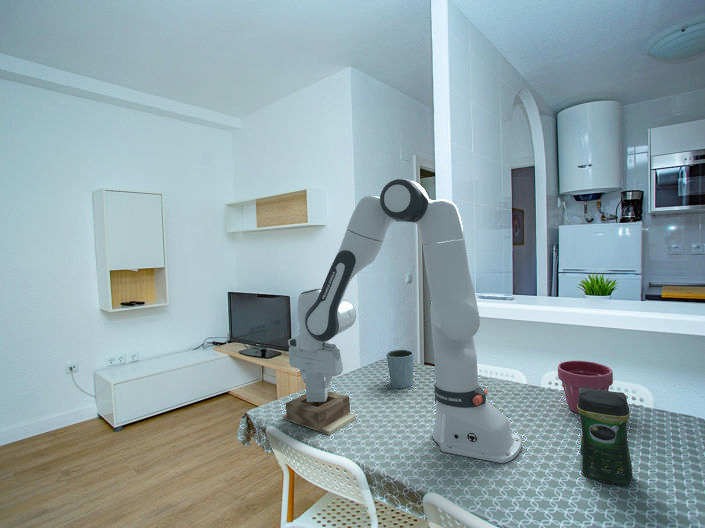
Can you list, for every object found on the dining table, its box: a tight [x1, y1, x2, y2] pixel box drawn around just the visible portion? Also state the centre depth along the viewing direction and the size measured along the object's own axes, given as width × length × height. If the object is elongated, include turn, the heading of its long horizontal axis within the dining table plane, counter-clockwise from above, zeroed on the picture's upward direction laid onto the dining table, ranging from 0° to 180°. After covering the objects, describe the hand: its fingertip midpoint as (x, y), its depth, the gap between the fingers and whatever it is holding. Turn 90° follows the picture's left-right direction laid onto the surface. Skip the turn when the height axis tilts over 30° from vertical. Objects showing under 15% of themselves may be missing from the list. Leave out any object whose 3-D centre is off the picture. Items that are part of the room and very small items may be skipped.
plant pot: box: [557, 360, 614, 414], centre depth 115 cm, size 14×14×13 cm
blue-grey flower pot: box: [386, 349, 414, 389], centre depth 145 cm, size 10×10×12 cm
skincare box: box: [304, 363, 328, 402], centre depth 119 cm, size 6×4×12 cm
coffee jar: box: [577, 387, 633, 486], centre depth 83 cm, size 10×8×19 cm
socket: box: [282, 390, 357, 436], centre depth 120 cm, size 20×14×6 cm
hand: (316, 385), depth 119 cm, fingers closed on skincare box, 7 cm apart
